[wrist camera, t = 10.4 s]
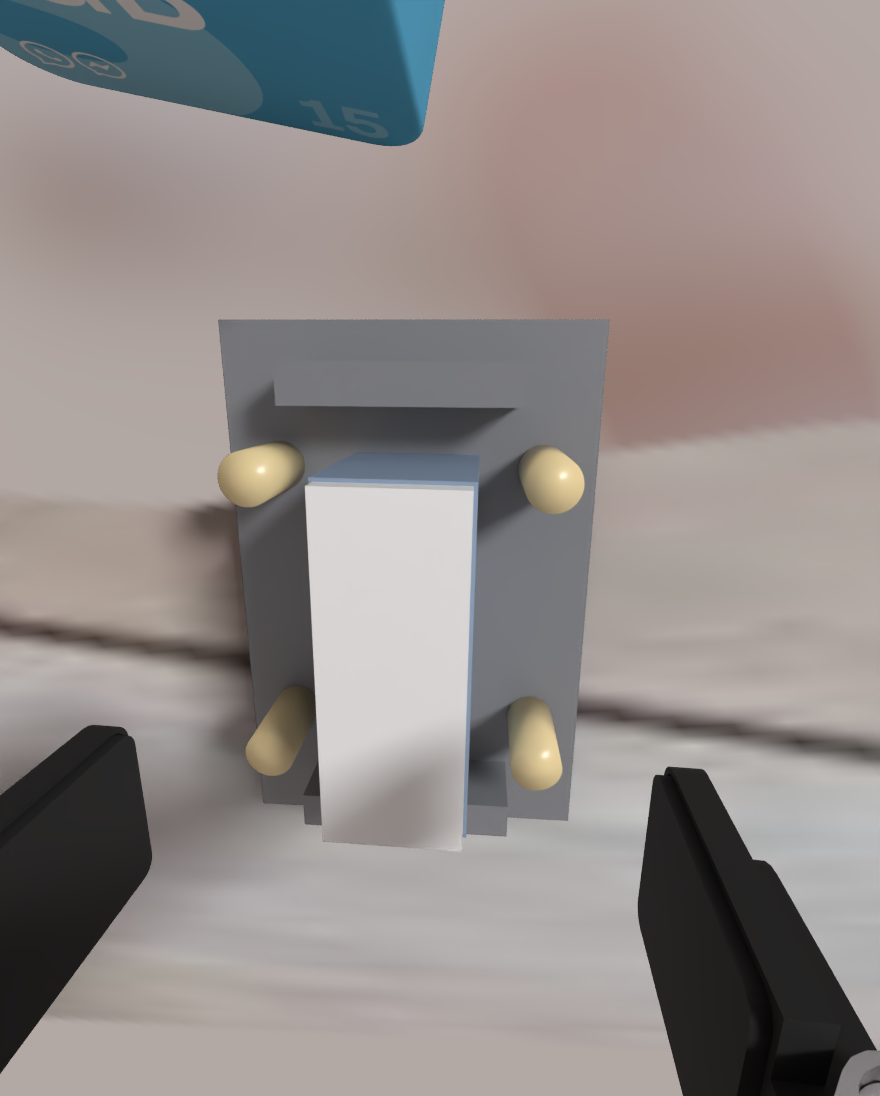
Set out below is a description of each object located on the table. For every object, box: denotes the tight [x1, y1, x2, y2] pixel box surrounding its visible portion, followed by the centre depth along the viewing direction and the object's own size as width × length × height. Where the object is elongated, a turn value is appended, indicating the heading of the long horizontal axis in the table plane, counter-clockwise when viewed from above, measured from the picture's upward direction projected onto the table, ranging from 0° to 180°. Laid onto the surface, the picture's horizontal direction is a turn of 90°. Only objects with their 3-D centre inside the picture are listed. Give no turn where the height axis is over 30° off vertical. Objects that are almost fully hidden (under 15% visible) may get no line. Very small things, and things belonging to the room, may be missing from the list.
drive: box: [305, 452, 480, 851], centre depth 17 cm, size 4×10×6 cm, turn 179°
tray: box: [218, 320, 609, 836], centre depth 19 cm, size 12×18×4 cm, turn 179°
